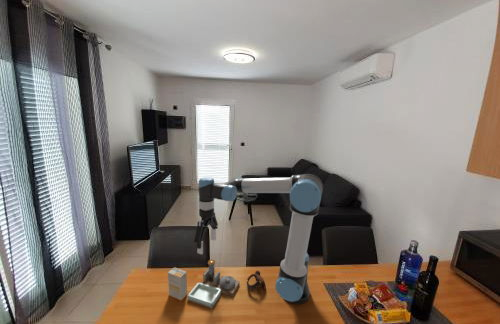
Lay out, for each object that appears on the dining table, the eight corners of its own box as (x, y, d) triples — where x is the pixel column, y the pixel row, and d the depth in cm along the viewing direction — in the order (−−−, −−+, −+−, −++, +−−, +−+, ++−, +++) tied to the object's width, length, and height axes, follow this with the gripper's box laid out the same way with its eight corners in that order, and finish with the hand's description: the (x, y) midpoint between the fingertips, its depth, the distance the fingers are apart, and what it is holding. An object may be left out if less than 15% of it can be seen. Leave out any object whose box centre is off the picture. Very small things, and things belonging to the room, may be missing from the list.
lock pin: (216, 278, 117) (216, 260, 115) (213, 282, 113) (212, 264, 111) (210, 276, 118) (210, 258, 116) (206, 281, 114) (206, 262, 113)
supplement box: (187, 294, 108) (187, 271, 105) (181, 301, 103) (180, 277, 101) (175, 289, 111) (174, 266, 109) (168, 295, 107) (167, 272, 104)
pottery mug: (267, 295, 109) (260, 285, 106) (250, 299, 111) (243, 289, 109) (267, 274, 120) (260, 265, 117) (252, 278, 122) (245, 269, 120)
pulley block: (239, 284, 116) (239, 274, 115) (232, 296, 107) (232, 286, 106) (209, 275, 121) (209, 266, 120) (201, 286, 113) (201, 276, 112)
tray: (221, 293, 109) (221, 289, 108) (212, 308, 100) (212, 303, 100) (198, 286, 113) (198, 282, 113) (187, 299, 104) (187, 295, 104)
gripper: (211, 199, 121) (212, 233, 124) (185, 216, 98) (186, 258, 101) (223, 200, 119) (223, 236, 122) (200, 218, 95) (200, 261, 99)
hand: (207, 246), depth 112 cm, fingers open, 13 cm apart
